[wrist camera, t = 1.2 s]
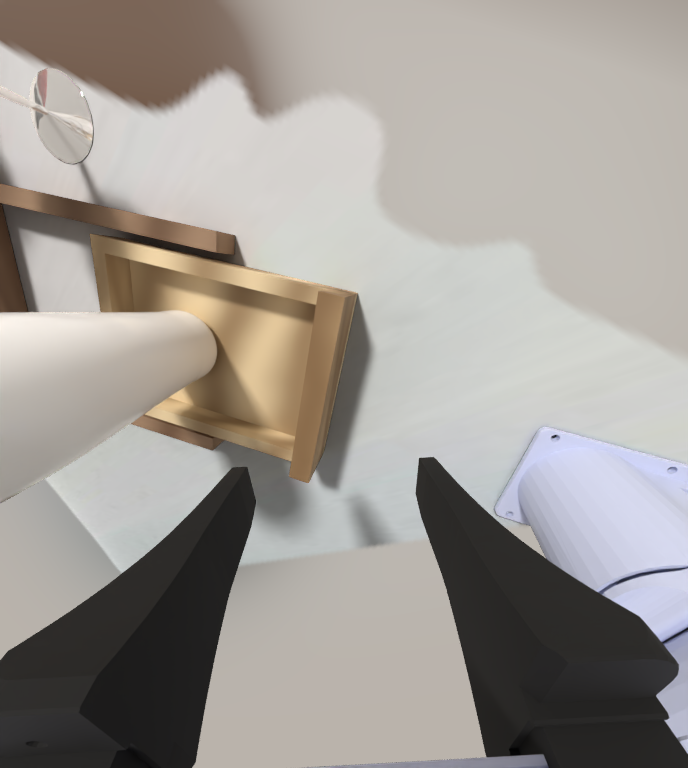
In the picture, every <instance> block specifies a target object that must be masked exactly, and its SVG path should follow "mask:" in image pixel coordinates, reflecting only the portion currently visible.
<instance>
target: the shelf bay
mask: <svg viewBox="0 0 688 768" xmlns="http://www.w3.org/2000/svg"><path fill="white" fill-rule="evenodd" d="M1 203H3V204H8V205H12V206H16V207H21V208H25V209H29V210H34V211H38V212H42V213H47V214H51V215H55V216H60V217H64V218H68V219H73V220H77V221H81V222H86V223H90V224H94V225H99V226H103V227H107V228H112V229H116V230H120V231H125V232H129V233H133V234H138V235H142V236H146V237H151V238H155V239H159V240H164V241H168V242H172V243H177V244H181V245H185V246H190V247H194V248H198V249H203V250H207V251H211V252H216V253H224V254H232V255H234V250H235V235H230V234H226V233H222V232H217V231H213V230H208V229H204V228H199V227H195V226H190V225H186V224H181V223H176V222H172V221H167V220H163V219H158V218H154V217H149V216H145V215H140V214H136V213H131V212H127V211H122V210H118V209H113V208H108V207H104V206H99V205H95V204H90V203H86V202H81V201H77V200H72V199H68V198H63V197H59V196H54V195H50V194H45V193H40V192H36V191H31V190H27V189H22V188H18V187H13V186H9V185H4V184H0V312H28V310H27V306H26V302H25V298H24V294H23V290H22V285H21V281H20V277H19V273H18V269H17V265H16V261H15V257H14V253H13V249H12V245H11V241H10V236H9V232H8V228H7V224H6V220H5V216H4V212H3V208H2V204H1ZM131 424H133V425H136V426H139V427H142V428H145V429H148V430H152V431H155V432H158V433H161V434H164V435H167V436H170V437H173V438H176V439H179V440H182V441H185V442H188V443H191V444H194V445H197V446H200V447H203V448H207V449H210V450H214V449H215V448H216V447H217V446H218V445H219V444H220V443H222V442H223V441H224V440H223V439H220V438H217V437H213V436H210V435H207V434H204V433H201V432H198V431H195V430H192V429H189V428H185V427H182V426H179V425H176V424H173V423H170V422H167V421H164V420H160V419H157V418H154V417H151V416H148V415H145V414H144V415H143V416H141V417H140V418H138V419H137V420H135V421H134V422H133V423H131Z"/></svg>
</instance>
